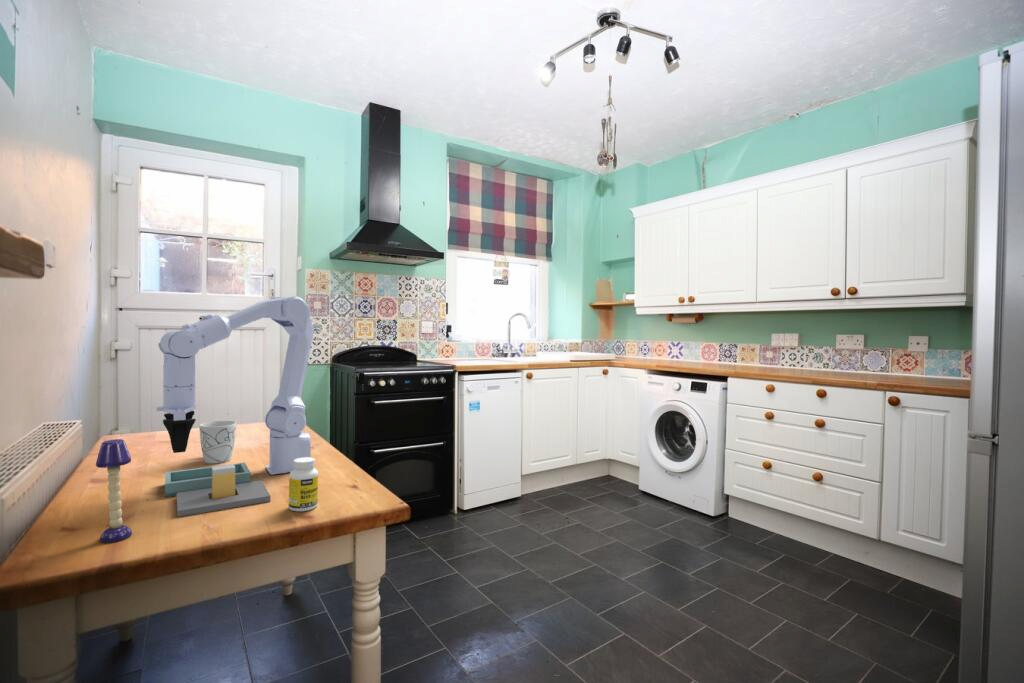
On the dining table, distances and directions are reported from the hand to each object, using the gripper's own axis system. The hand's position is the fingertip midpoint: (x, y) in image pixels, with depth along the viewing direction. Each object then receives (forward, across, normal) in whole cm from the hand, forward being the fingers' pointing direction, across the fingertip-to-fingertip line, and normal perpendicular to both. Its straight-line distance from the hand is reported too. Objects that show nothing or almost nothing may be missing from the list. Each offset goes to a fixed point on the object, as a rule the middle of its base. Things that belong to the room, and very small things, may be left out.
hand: (179, 448), depth 106 cm
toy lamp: (+10, +21, -9) cm, 25 cm away
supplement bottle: (+10, +23, +21) cm, 32 cm away
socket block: (+10, +10, +8) cm, 16 cm away
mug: (+10, -26, +8) cm, 29 cm away
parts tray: (+10, -3, +5) cm, 12 cm away
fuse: (+10, +10, +8) cm, 16 cm away
